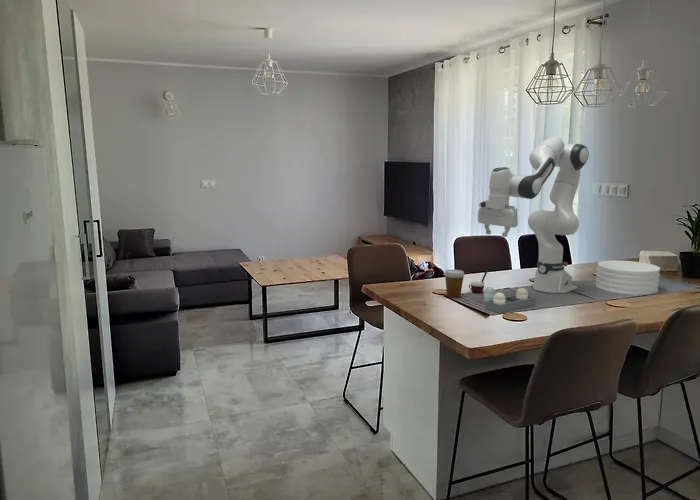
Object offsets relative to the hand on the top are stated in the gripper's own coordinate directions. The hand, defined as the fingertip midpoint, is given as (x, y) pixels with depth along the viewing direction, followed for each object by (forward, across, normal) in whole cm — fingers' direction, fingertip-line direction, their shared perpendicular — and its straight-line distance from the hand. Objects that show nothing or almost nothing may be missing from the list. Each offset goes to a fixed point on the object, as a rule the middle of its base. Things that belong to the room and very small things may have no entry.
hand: (496, 235), depth 240 cm
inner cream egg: (+30, -12, -5) cm, 32 cm away
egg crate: (+31, -12, +2) cm, 33 cm away
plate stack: (+28, -18, -78) cm, 85 cm away
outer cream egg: (+30, -12, +9) cm, 34 cm away
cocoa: (+31, +17, -9) cm, 36 cm away
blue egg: (+31, 0, +2) cm, 31 cm away
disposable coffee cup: (+31, +18, +6) cm, 36 cm away
